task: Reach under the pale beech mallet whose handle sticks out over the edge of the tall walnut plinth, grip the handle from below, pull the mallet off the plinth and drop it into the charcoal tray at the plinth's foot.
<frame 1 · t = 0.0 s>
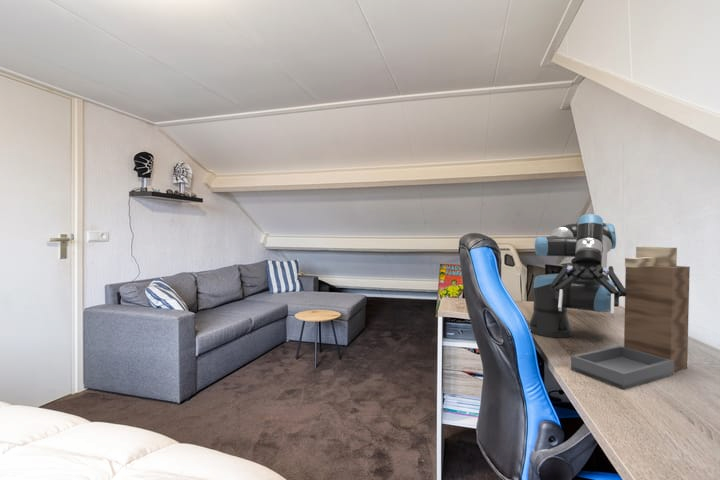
hand: (585, 312, 107), 15 cm above the table, tool tilted 35°, fingers open, 13 cm apart
plinth: (654, 363, 105), on the table
mallet: (647, 265, 103), point 30 cm above the table, touching plinth
tray: (621, 372, 99), on the table
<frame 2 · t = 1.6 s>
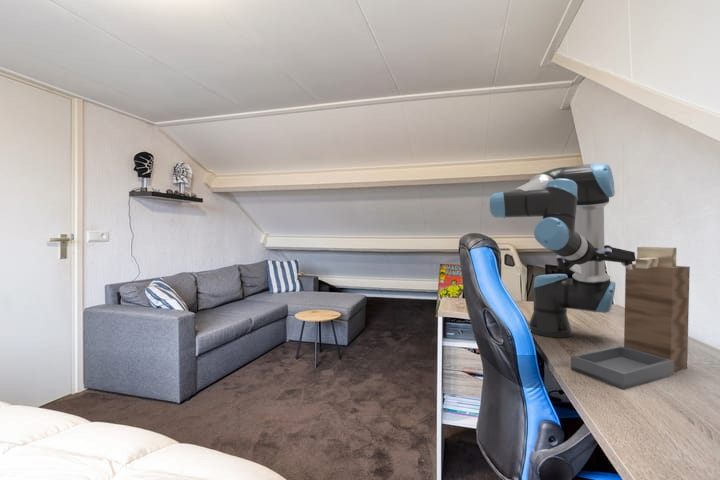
hand: (604, 268, 107), 29 cm above the table, tool tilted 70°, fingers open, 13 cm apart
mallet: (651, 266, 102), point 30 cm above the table, touching plinth
everything else where it was.
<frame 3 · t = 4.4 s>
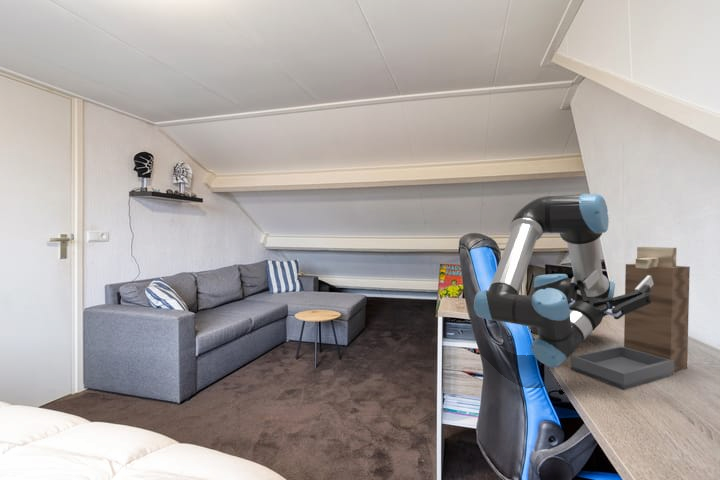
hand: (622, 276, 98), 28 cm above the table, tool pointing upward, fingers open, 13 cm apart
nothing on the table moved.
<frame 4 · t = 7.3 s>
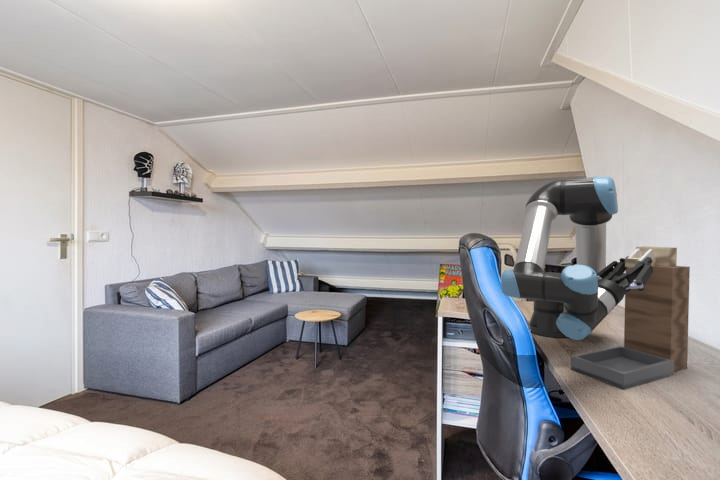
hand: (645, 252, 102), 34 cm above the table, tool pointing upward, fingers closed on mallet, 2 cm apart
mallet: (647, 265, 103), point 30 cm above the table, touching gripper, plinth
everything else where it was.
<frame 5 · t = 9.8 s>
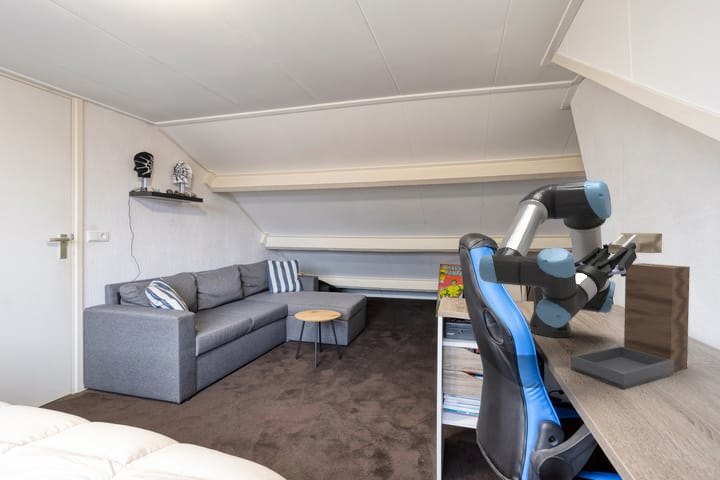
hand: (630, 238, 99), 38 cm above the table, tool pointing upward, fingers closed on mallet, 2 cm apart
mallet: (632, 252, 99), point 34 cm above the table, touching gripper
everything else where it was.
when the fingers open (26 cm above the table, at t = 12.8 s): mallet drops 21 cm, resting on tray.
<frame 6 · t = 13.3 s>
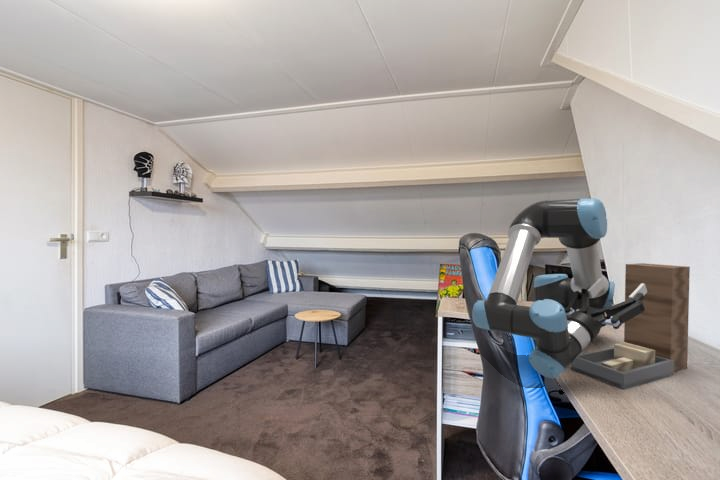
hand: (622, 284, 98), 25 cm above the table, tool pointing upward, fingers open, 10 cm apart
mallet: (625, 367, 99), point 1 cm above the table, touching tray
everything else where it was.
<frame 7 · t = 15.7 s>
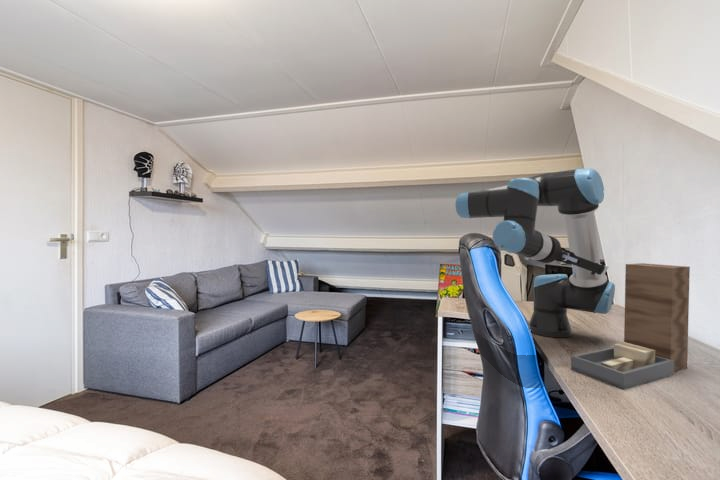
hand: (582, 261, 104), 31 cm above the table, tool horizontal, fingers open, 13 cm apart
nothing on the table moved.
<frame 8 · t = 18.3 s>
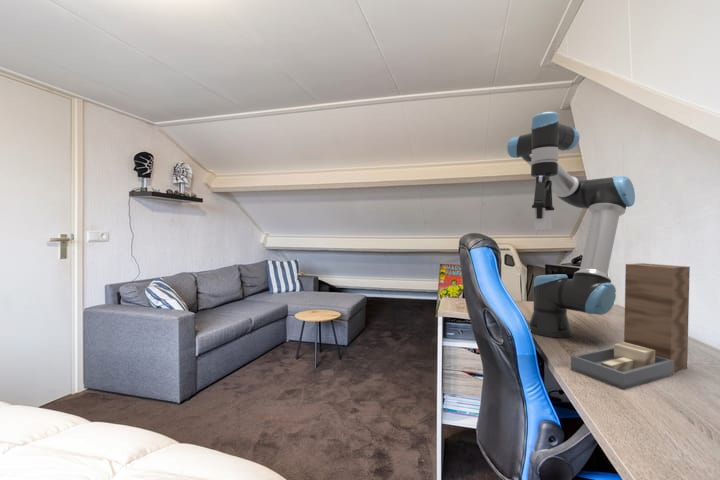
hand: (543, 230, 110), 41 cm above the table, tool pointing down, fingers open, 13 cm apart
nothing on the table moved.
at the end: mallet inside the target area (1.8 cm from its centre), point 1.0 cm above the table; mallet touching tray; the gripper is holding nothing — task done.
